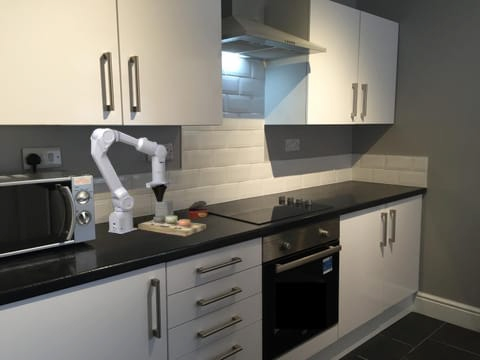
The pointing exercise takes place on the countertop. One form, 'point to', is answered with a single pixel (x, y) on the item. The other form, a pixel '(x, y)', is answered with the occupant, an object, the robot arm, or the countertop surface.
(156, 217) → the grey button
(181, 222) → the terracotta button
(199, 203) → the canned food
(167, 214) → the medicine box
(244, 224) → the countertop surface
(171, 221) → the sage button
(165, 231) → the button board
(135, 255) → the countertop surface
